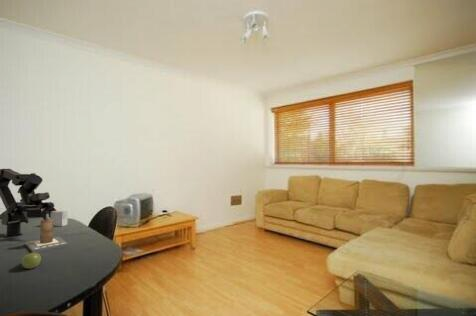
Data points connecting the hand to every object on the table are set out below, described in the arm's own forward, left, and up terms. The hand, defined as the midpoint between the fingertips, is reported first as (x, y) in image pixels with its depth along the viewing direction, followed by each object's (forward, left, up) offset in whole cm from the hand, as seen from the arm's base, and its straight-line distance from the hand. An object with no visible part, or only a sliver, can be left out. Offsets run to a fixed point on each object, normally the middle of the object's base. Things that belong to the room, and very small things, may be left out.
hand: (37, 222), depth 125 cm
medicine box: (-30, +16, -10) cm, 35 cm away
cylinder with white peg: (+9, +2, -8) cm, 12 cm away
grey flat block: (+10, +2, -10) cm, 14 cm away
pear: (+34, -8, -10) cm, 36 cm away
